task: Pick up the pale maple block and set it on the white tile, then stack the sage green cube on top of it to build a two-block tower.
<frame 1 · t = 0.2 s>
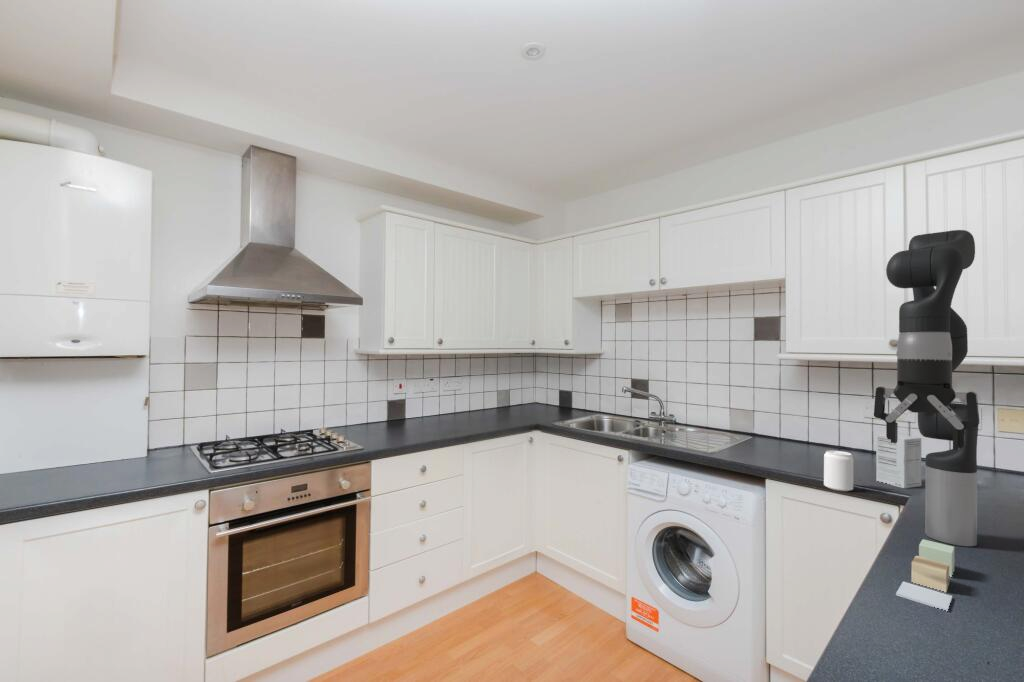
hand: (923, 446, 85), 28 cm above the countertop, tool pointing down, fingers open, 8 cm apart
supplement box: (898, 484, 163), on the countertop
white tile: (924, 596, 85), on the countertop
maple block: (930, 584, 91), on the countertop
sage block: (936, 570, 97), on the countertop
beverage can: (838, 489, 156), on the countertop
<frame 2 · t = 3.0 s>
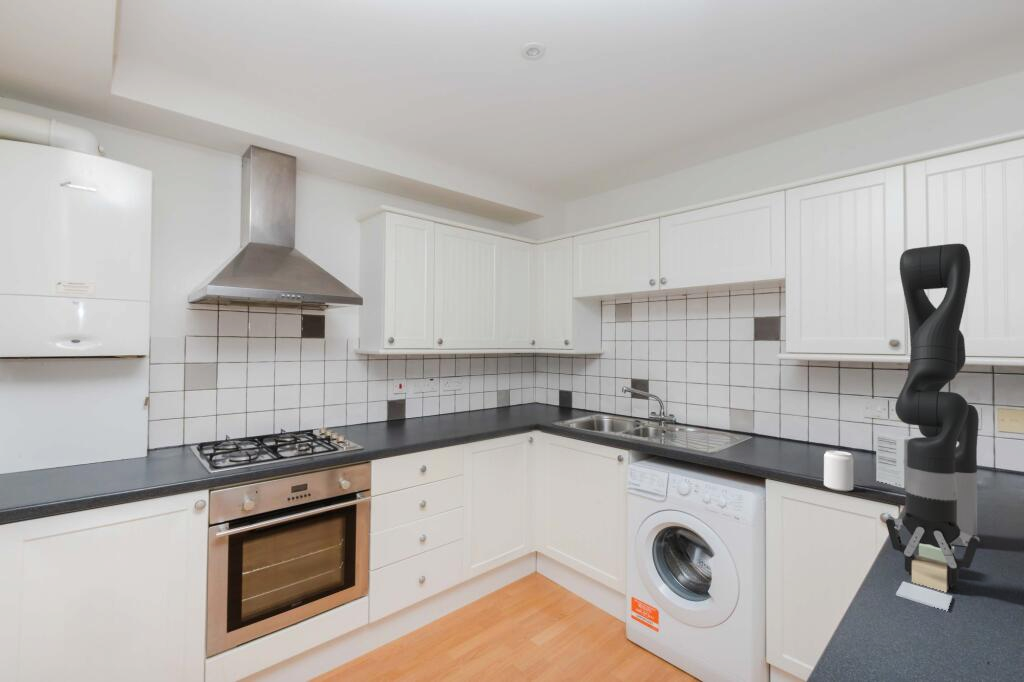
hand: (930, 579, 91), 1 cm above the countertop, tool pointing down, fingers closed on maple block, 5 cm apart
maple block: (930, 583, 91), on the countertop, touching gripper
everything else where it was.
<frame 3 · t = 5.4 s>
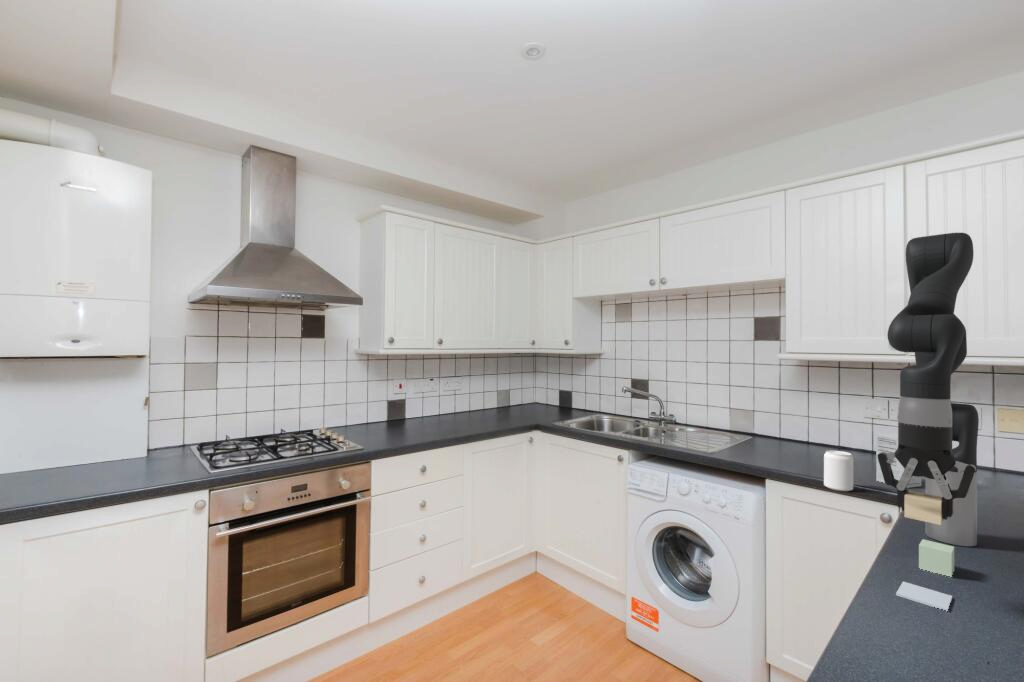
hand: (924, 513, 86), 15 cm above the countertop, tool pointing down, fingers closed on maple block, 5 cm apart
maple block: (924, 517, 86), point 14 cm above the countertop, touching gripper
everything else where it was.
when the fingers open (2 cm above the countertop, at t = 8.1 s): maple block drops 1 cm, resting on white tile.
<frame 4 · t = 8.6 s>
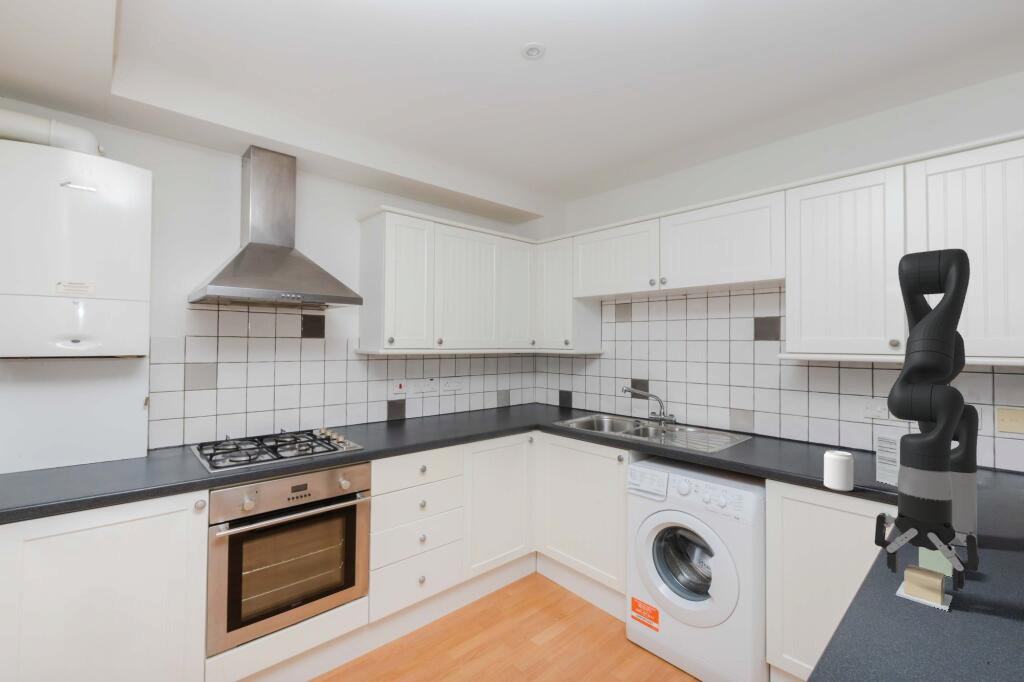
hand: (924, 580, 86), 3 cm above the countertop, tool pointing down, fingers open, 8 cm apart
maple block: (924, 594, 85), resting on white tile
everything else where it was.
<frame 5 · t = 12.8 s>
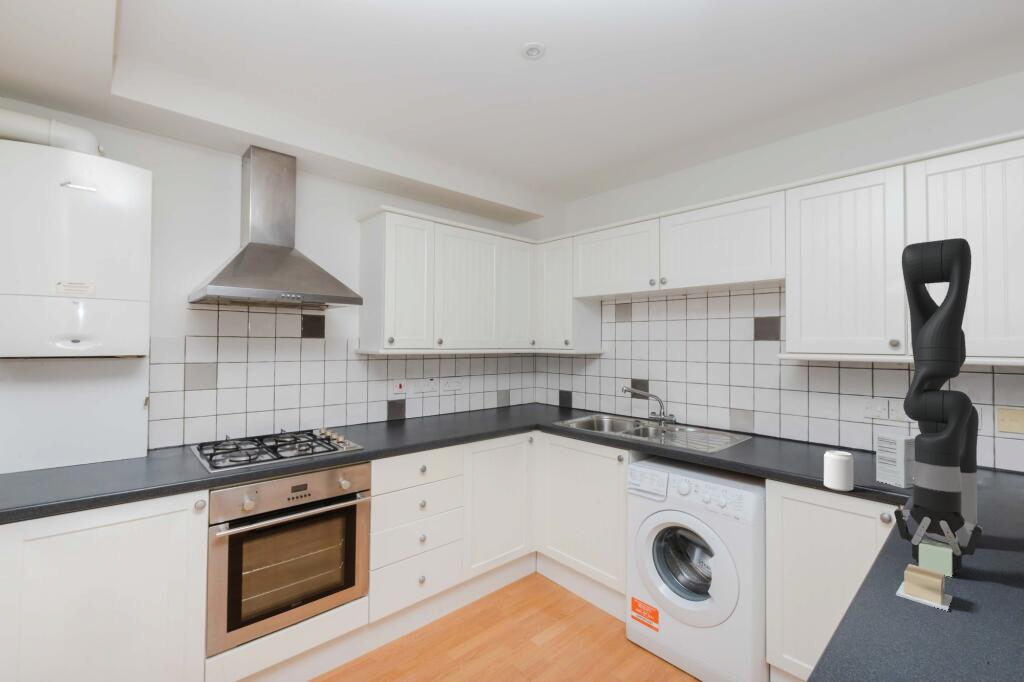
hand: (936, 566, 97), 1 cm above the countertop, tool pointing down, fingers closed on sage block, 5 cm apart
sage block: (936, 569, 97), on the countertop, touching gripper
everything else where it was.
when the fingers open (6 cm above the countertop, at t = 18.3 s): sage block drops 1 cm, resting on maple block.
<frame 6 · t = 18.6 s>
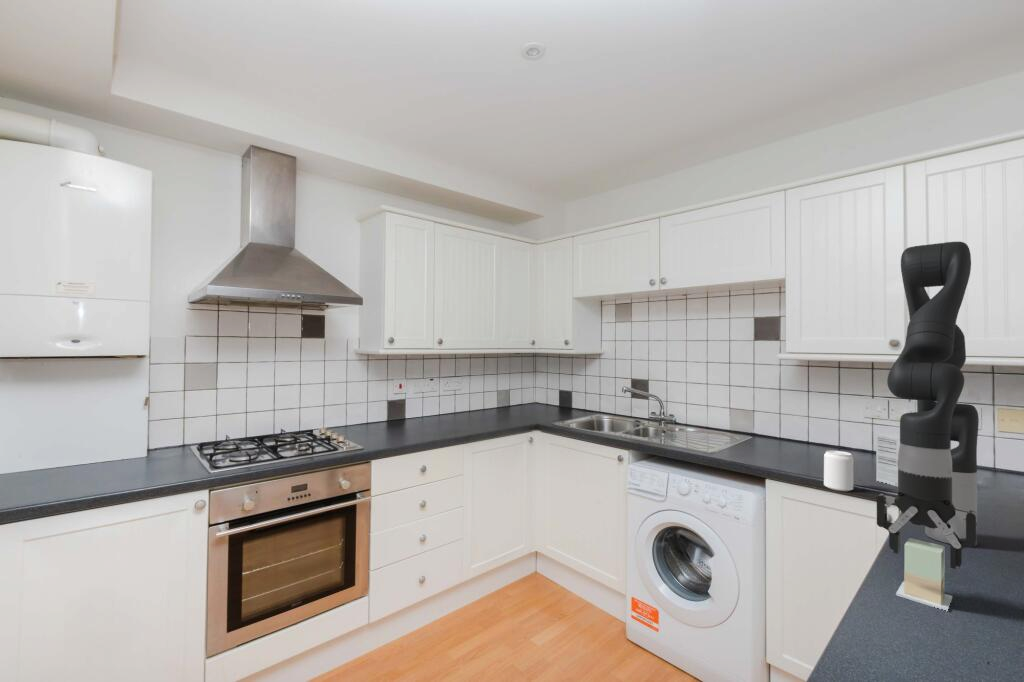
hand: (924, 559, 86), 7 cm above the countertop, tool pointing down, fingers open, 7 cm apart
maple block: (924, 594, 85), resting on white tile, touching sage block
sage block: (924, 572, 86), point 4 cm above the countertop, touching maple block
everything else where it was.
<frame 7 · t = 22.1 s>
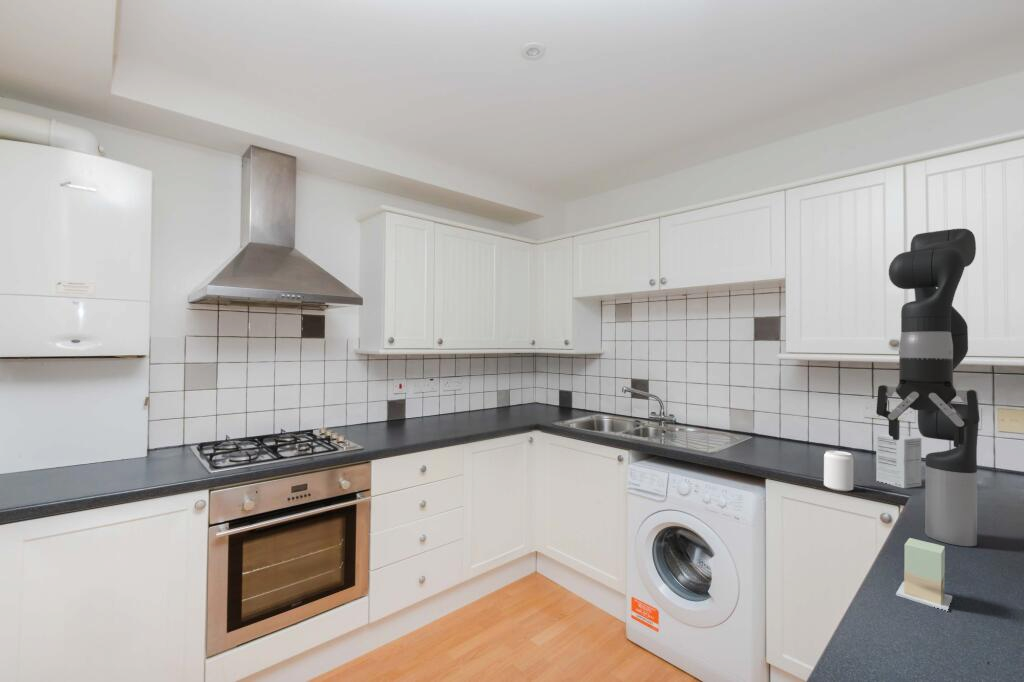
hand: (925, 443, 87), 28 cm above the countertop, tool pointing down, fingers open, 8 cm apart
nothing on the countertop moved.
at the end: maple block 0.0 cm from the target spot, resting on white tile; sage block 0.0 cm off-centre on the maple block, point 4.0 cm above the maple block's base; sage block tilted 0° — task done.
